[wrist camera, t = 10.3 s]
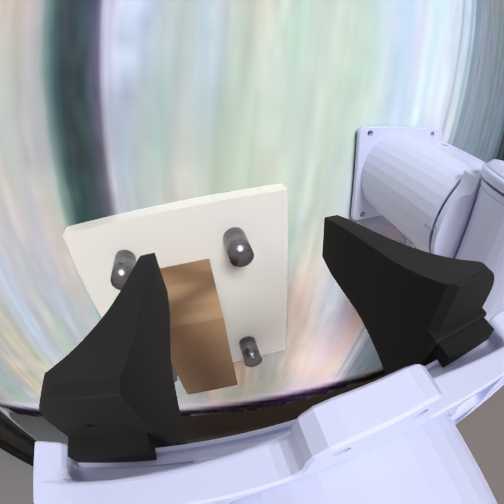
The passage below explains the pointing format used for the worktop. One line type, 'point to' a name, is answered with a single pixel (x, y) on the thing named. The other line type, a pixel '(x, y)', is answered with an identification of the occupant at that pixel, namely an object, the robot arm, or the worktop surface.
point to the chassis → (201, 258)
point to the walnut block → (197, 328)
